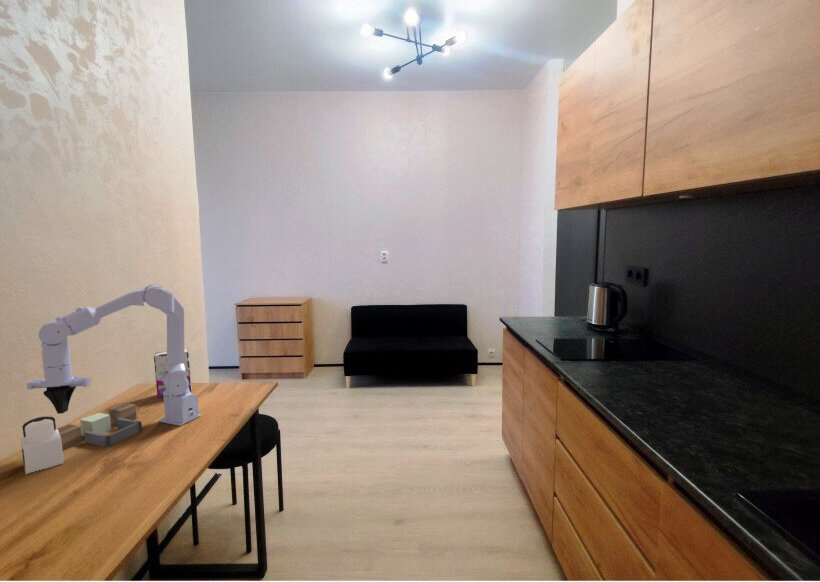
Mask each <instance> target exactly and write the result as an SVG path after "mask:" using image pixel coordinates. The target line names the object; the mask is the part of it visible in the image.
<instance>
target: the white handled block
mask: <svg viewBox="0 0 820 582" xmlns="http://www.w3.org/2000/svg"><path fill="white" fill-rule="evenodd" d="M56 425H57V424H56V418H55V417H54V416H40V417H35V418H33V419H29V420H28V421H26V422H24V423H23V424H22V434H23V437H22V438H20V447H21V452H22V455H21V456H22V461H23V469H24V475H28V474H27V473H30V472H33V473H36V472H35V471H37V472H39V471H38V470H40V471H43V470H46V469H50V468H53V467H57V466H58V465H59V466H60V465H62V464H64V462H65V461H64V453H63V452H64V451H62V442H61V437H60V434H59V431H58V430H57V427H56ZM42 469H43V470H42ZM30 474H31V473H30Z"/></svg>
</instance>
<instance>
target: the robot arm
mask: <svg viewBox="0 0 820 582" xmlns="http://www.w3.org/2000/svg"><path fill="white" fill-rule="evenodd" d="M145 303H146V304H147V305H148V306H149V307H152V308H155V309H158V310H159V311H161V312H162V313H164V314H165V315H166V351H167V364H166V372H165V374H164V376H163V379H162V381H163V383H164V385H165V386H166V389H165V391H164V392H163V397H162V398H163V407H164V417H162V418H160V419H159V420H158V422H159V423H163V424H164V423H165V424H169V425H174V426H179V427H180V426H183V425H185V424H188V423H189V422H191V421H193V420H195V419H197V418H199V417H201V416H202V414H201V413H199V401H198V400H199V399H198V397H197V395H196V394H194V393H192V391H191V392H190V391H189V381H188V379H187V377H186V370H185V365H184V349H185V309H184V308H185V307H184V306H182V304H181V302H180V301H178V299H177V297H175V296H174V294H173V293H172V292H170V291H169V290H167V289H166V288H165V287H163V286H162V285H159V284H148V285H147V286H145V287H140V288H138V289H135V290H131V291H129V292H127V293H124V294H122V295H120V296H118V297H116V298H114V299H112V300H109V301H107V302H105V303H103V304H101V305H99V306H96V307H91V306H85V307H82V306H80V307H79V306H78V307H77V308H75V311H73V312H71V313H68V314H66V315H64V316H62V317H61V316H57V317H55V320H51V321H47V322H46V323H44V324H43V325H42V326H41V328H40V329H39V331H38V338H39V340H40V341H41V345H40V346H41V348H42V350H41V360H42V367H43V375H44V378H43V379H34V380H30V381H28V382H26V388H27V390H33V389H46V390H44V391H43V395H44V396H45V397H46V398H47V399H48V400H49V401H50V403H51V404H52V405H53V407H54V410H55V411H56V413H57V414H65V413H66V412H68V411H69V407H70V406H69V405H70V402H71V398H72V396H73V393H74V392H75V389H76V388H77V387H83V388H87V387H89V386H91V385H92V381H91V380H92V378H91V377H79V376H74V375H73V365H72V358H71V349H70V348H71V347H70V346H69V340H68V339H69V338H68V337H69V336H75V335H78V334H79V333H81V332H84V331H87V330H89V329H91V328H93V327H95V326H99V324H100V322H101V320H102V318H104V317H106V316H109V315H111V314H114V313H116V312H118V311H121V310H124V309H126V308H129V307H131V306H139V307H140V306H141V307H144V306H145Z"/></svg>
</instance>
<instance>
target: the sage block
mask: <svg viewBox="0 0 820 582" xmlns="http://www.w3.org/2000/svg"><path fill="white" fill-rule="evenodd" d="M79 421H80V427H81V435H82V437H85V433H84V432H86V431H92V432H97V433H101V434H107V433H109V432H111V431H112V424H111V421H110V415H109V413H102V412H97V413H94V414H92V415H89V416H86V417H84V418H83V417H82V418H80V420H79Z"/></svg>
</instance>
